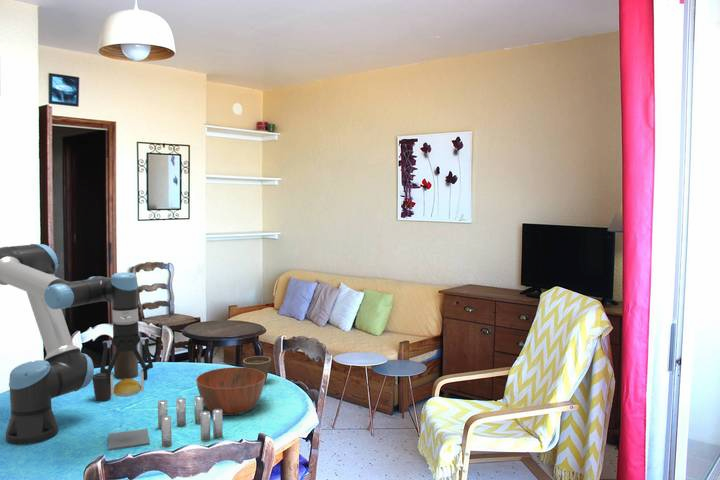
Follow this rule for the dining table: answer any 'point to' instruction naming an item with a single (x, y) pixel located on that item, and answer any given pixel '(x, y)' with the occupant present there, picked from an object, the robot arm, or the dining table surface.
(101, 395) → the coffee cup
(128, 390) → the bread roll
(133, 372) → the pillar candle
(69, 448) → the dining table surface
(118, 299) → the robot arm
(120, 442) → the slate coaster
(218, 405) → the bowl
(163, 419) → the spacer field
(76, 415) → the dining table surface
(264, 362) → the flower pot
